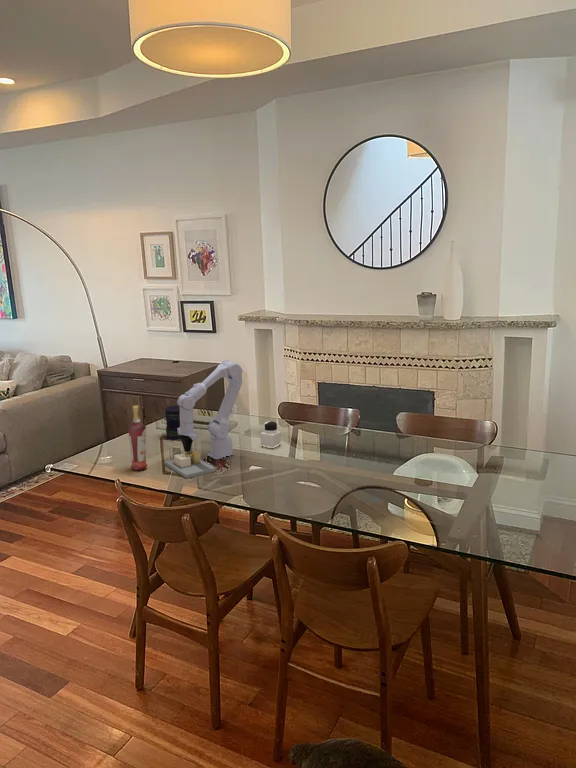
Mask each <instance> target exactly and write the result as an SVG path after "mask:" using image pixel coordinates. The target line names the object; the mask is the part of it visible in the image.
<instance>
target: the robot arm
mask: <svg viewBox="0 0 576 768" xmlns="http://www.w3.org/2000/svg"><path fill="white" fill-rule="evenodd" d="M243 372H244V370H243V369H242V366H241V365H240V364H239V363H237V362H234V361H231V360H229V359H225V360H223V361H222V362H221V363H220V364H218V365H217V367H216V368H215V369H214V370H213V371H212V372H211V373H210V374H209V375H208V376H207V377H205V379H204V380H203V381H202V382H197V383H194V384H193V385H192V387H191V388H190V389H189V390H188V391H185V392H184V394H181V395H179V397H178V399H177V401H176V404H177V406H180V428H177V432H178V434H179V435H182V436H179V438H180V441H181V443H182V447H183V450H184V452H186V453H190V452H191V449H192V445H193V442H194V441H195V440H198V437H197V436H198V435H197V434H196V433H195V431H194V411H193V410H194V409H193V408H194V407H195V405H196V402H197V401H199V400H200V399H201V398H202V397H203V396H204V395H205V394H206V393H207V389H208V388H209V387H211V386H212V385H213V384H215V383H216V382H217V381H218V380H220V379H221V378H227V381H228V382H229V383H228V386H227V389H226V391H225V393H224V395H223V398H222V402H221V404H220V407H219V409H218V412H217V415H215V416H214V417H213V418H212V420H211V422H209V424H208V426H207V430H208V432H209V434H210V437H209V438H210V452H209V453H207V454H206V455H207V456H209V457H210V458H212V459H214V460H220V459H224V458H227V457H226V456H229V455H230V454H233V440H232V437H231V436H230V435H229V430H230V429H229V427H230V420H229V418H230V416H231V414H232V411H233V409H234V405H235V403H236V401H237V399H238V396H239V393H240V390H241V387H242V384H243ZM223 457H224V458H223ZM229 457H230V456H229Z"/></svg>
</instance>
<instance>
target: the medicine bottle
mask: <svg viewBox="0 0 576 768" xmlns="http://www.w3.org/2000/svg"><path fill="white" fill-rule="evenodd" d="M263 428H264V429H263V430H264V431H262V432H260V446H261V445H265V446H270V447H274V446H275V445H277V444H279V443H281V442H282V441H281V439H282V438H281V435H282V434H281V431H280V430H278V424H277V422H275V421H273V420H272V421H266V422H264V425H263Z"/></svg>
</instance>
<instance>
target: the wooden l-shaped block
mask: <svg viewBox="0 0 576 768" xmlns="http://www.w3.org/2000/svg"><path fill="white" fill-rule="evenodd" d="M184 454H185V456H187V457H188V456H190V458H191V463H192V464H199V463H200V459H201V452H200V451H198V450H192V451H189V452H186V453H184Z"/></svg>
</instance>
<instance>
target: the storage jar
mask: <svg viewBox="0 0 576 768" xmlns="http://www.w3.org/2000/svg"><path fill="white" fill-rule="evenodd" d="M164 416H165V421H166V423H165V424H166V427H165V433H166V439H168V440H171V441H178V440H179V439H180V438H179V436H182V435H179V434H178V432H177V428H180V406H179V405H170V406H166V407H165V415H164ZM180 440H181V439H180Z"/></svg>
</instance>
